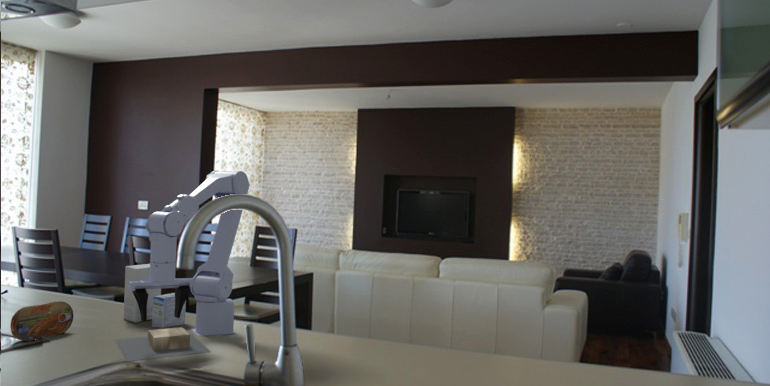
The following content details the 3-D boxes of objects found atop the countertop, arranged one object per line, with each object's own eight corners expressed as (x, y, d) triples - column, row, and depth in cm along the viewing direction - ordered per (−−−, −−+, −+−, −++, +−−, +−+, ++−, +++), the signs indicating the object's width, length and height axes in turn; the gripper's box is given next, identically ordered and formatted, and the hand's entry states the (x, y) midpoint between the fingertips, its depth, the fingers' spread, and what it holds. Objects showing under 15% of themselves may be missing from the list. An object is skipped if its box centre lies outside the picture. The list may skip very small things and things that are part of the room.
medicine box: (173, 322, 160) (175, 292, 160) (185, 324, 158) (186, 294, 158) (151, 328, 153) (152, 296, 153) (163, 330, 151) (164, 298, 151)
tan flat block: (147, 342, 136) (181, 339, 140) (153, 350, 129) (189, 347, 133) (148, 330, 136) (182, 327, 140) (154, 337, 129) (190, 334, 133)
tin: (15, 344, 132) (17, 309, 132) (7, 343, 133) (8, 307, 133) (73, 331, 145) (75, 299, 146) (65, 330, 147) (66, 298, 147)
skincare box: (148, 315, 168) (151, 263, 168) (161, 318, 164) (163, 265, 164) (121, 319, 161) (124, 265, 161) (134, 323, 157) (137, 267, 158)
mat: (190, 334, 147) (190, 332, 147) (211, 354, 130) (211, 351, 130) (114, 342, 137) (114, 339, 137) (126, 364, 120) (126, 361, 120)
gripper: (188, 258, 141) (186, 312, 141) (126, 261, 132) (124, 318, 132) (197, 262, 135) (195, 318, 135) (133, 264, 127) (131, 324, 127)
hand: (160, 318), depth 133 cm, fingers open, 7 cm apart
